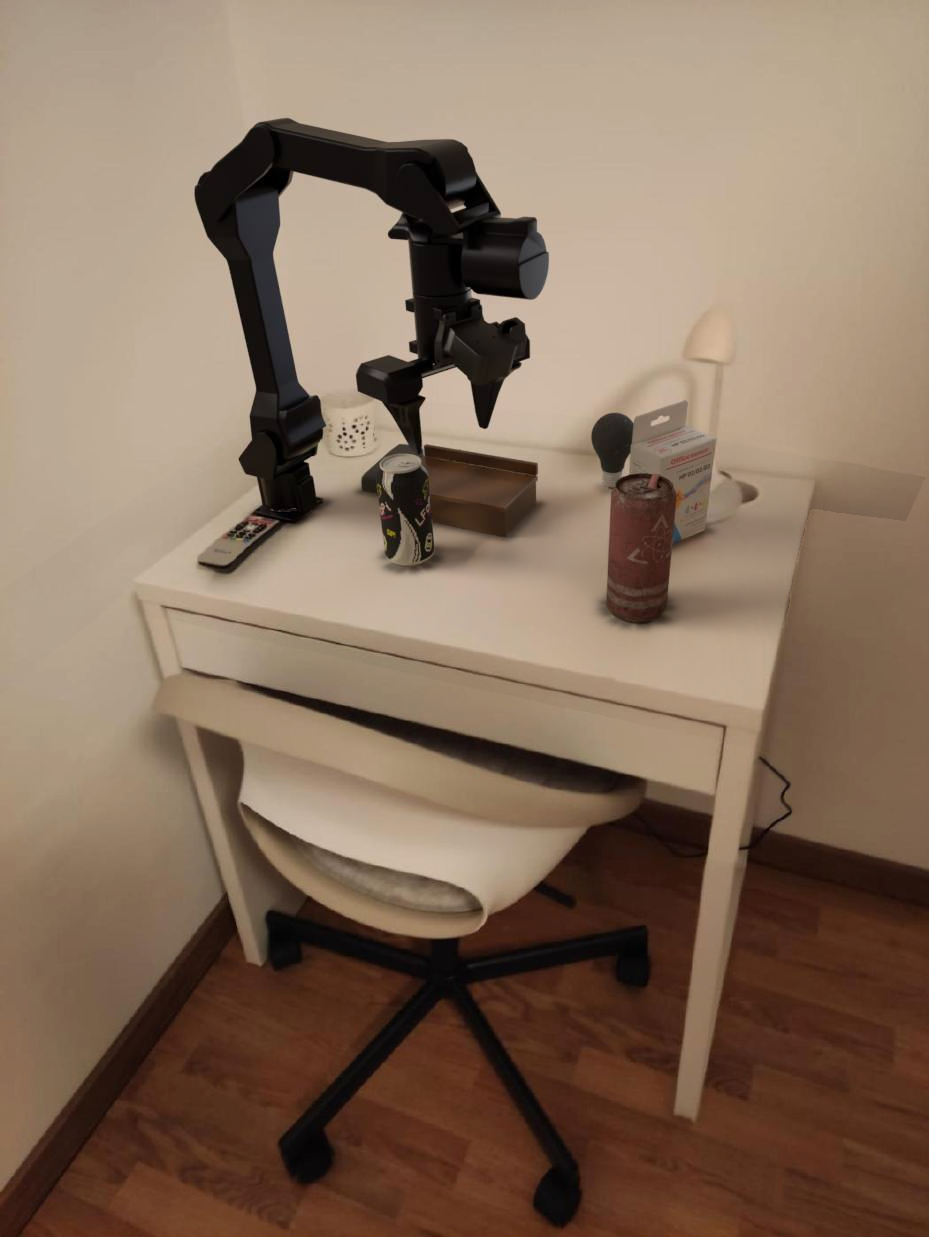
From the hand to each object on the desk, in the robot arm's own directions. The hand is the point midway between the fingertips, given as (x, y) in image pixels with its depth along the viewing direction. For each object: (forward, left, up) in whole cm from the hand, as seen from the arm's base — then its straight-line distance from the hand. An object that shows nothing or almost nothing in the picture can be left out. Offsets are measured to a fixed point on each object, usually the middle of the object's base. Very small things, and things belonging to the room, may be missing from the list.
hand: (451, 440), depth 94 cm
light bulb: (+10, +22, -14) cm, 28 cm away
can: (+22, -3, -14) cm, 27 cm away
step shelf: (-5, +10, -14) cm, 18 cm away
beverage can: (-5, -3, -14) cm, 15 cm away
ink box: (+20, +13, -14) cm, 28 cm away
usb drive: (-18, +15, -14) cm, 28 cm away
